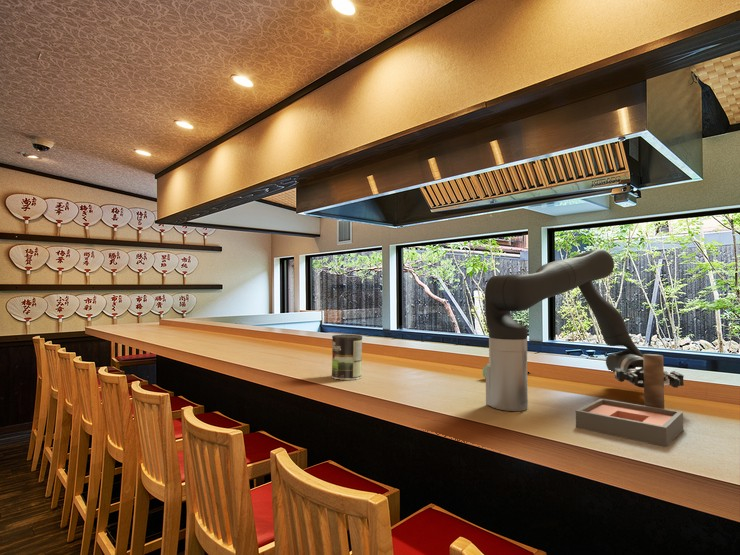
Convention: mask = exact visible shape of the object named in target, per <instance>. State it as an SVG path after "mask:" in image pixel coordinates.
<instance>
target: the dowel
mask: <svg viewBox="0 0 740 555" xmlns="http://www.w3.org/2000/svg"><path fill="white" fill-rule="evenodd" d="M642 354H643V368H644V388H643V402H644V403H643V406H649V407H655V408H661V409H665V385H664V371H665V370H664V367H665V366H664V355H663V354H654V353H653V354H652V353H642Z"/></svg>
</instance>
